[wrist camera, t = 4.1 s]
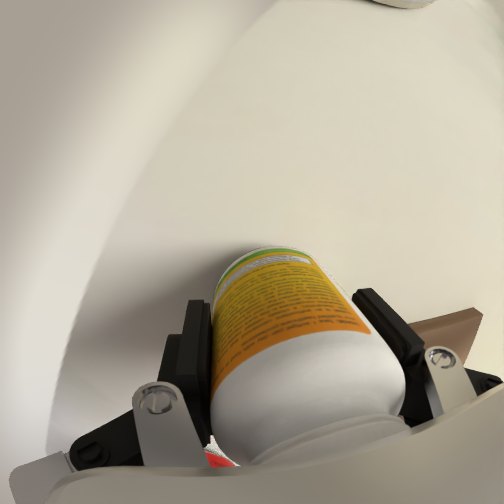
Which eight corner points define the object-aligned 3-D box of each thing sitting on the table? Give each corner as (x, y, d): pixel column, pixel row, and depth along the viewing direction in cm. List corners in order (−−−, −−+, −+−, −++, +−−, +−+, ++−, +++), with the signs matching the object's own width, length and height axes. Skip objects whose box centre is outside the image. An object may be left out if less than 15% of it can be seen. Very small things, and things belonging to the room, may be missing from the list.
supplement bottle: (189, 307, 12) (160, 525, 3) (268, 217, 11) (406, 412, 2) (274, 361, 14) (320, 537, 5) (349, 289, 13) (474, 447, 4)
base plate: (302, 341, 14) (308, 354, 13) (473, 307, 16) (483, 314, 15) (285, 465, 18) (287, 476, 17) (419, 427, 20) (424, 435, 19)
